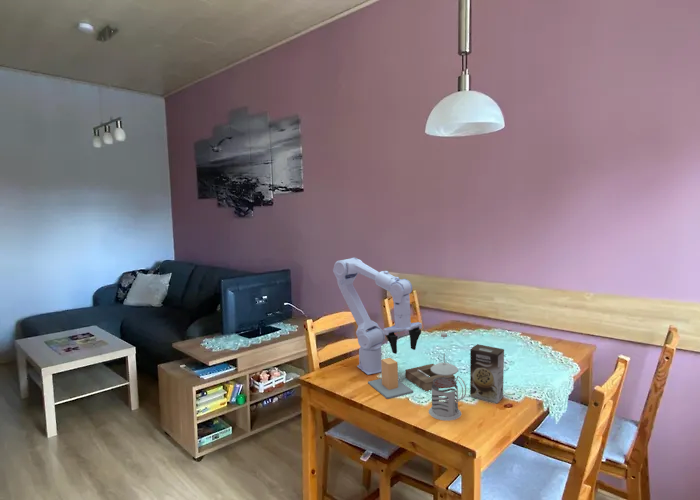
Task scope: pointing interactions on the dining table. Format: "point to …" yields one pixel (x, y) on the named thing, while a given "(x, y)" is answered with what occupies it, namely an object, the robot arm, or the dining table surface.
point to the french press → (445, 391)
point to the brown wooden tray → (423, 376)
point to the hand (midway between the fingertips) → (403, 351)
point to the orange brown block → (389, 373)
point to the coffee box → (486, 373)
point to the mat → (391, 393)
